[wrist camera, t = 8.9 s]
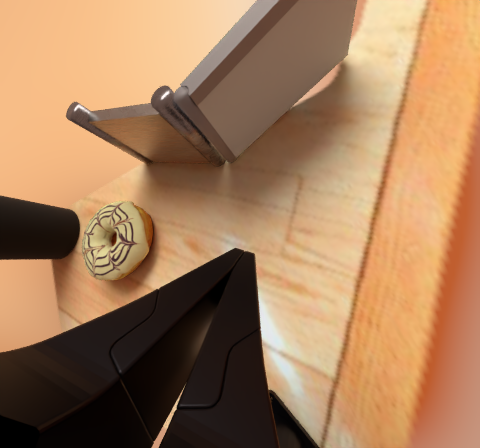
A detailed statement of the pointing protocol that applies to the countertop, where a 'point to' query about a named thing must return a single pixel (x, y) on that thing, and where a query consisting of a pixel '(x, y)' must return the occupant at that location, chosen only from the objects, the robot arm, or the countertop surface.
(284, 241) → the countertop surface
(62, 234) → the bottle
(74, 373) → the robot arm
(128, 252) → the decorated donut
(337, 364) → the countertop surface
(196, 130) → the gate frame
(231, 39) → the gate leaf
